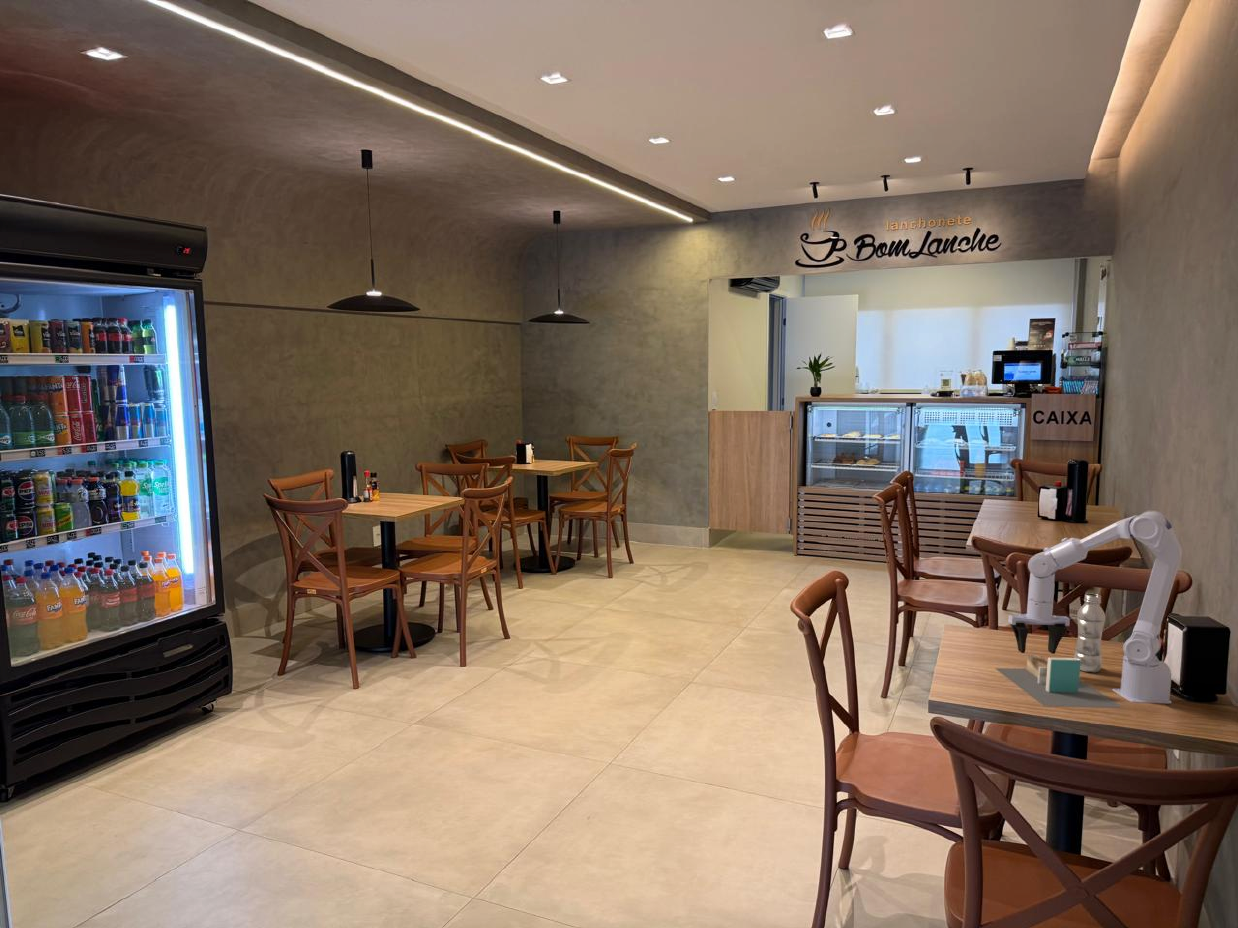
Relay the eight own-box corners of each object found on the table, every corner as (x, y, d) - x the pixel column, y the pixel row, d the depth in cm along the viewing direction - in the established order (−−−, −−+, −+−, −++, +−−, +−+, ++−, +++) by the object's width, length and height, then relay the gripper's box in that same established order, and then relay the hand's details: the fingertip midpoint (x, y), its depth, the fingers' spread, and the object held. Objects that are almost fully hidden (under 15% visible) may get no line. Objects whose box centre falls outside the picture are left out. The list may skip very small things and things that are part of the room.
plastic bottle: (1075, 673, 212) (1081, 596, 210) (1070, 665, 218) (1076, 590, 216) (1104, 676, 210) (1110, 599, 208) (1098, 668, 216) (1104, 593, 214)
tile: (1074, 690, 199) (1077, 658, 198) (1078, 692, 197) (1081, 660, 196) (1045, 689, 199) (1047, 657, 198) (1049, 692, 197) (1051, 659, 196)
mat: (1064, 671, 214) (1064, 669, 214) (1123, 709, 189) (1123, 707, 189) (994, 669, 214) (994, 668, 214) (1044, 707, 189) (1044, 705, 189)
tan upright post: (1042, 669, 213) (1044, 654, 212) (1063, 684, 203) (1064, 668, 202) (1019, 669, 213) (1020, 654, 212) (1039, 683, 203) (1040, 667, 202)
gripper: (1061, 596, 213) (1056, 647, 214) (1004, 594, 213) (1000, 646, 214) (1075, 603, 206) (1071, 656, 207) (1017, 602, 206) (1013, 655, 207)
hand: (1036, 652), depth 210 cm, fingers open, 7 cm apart
